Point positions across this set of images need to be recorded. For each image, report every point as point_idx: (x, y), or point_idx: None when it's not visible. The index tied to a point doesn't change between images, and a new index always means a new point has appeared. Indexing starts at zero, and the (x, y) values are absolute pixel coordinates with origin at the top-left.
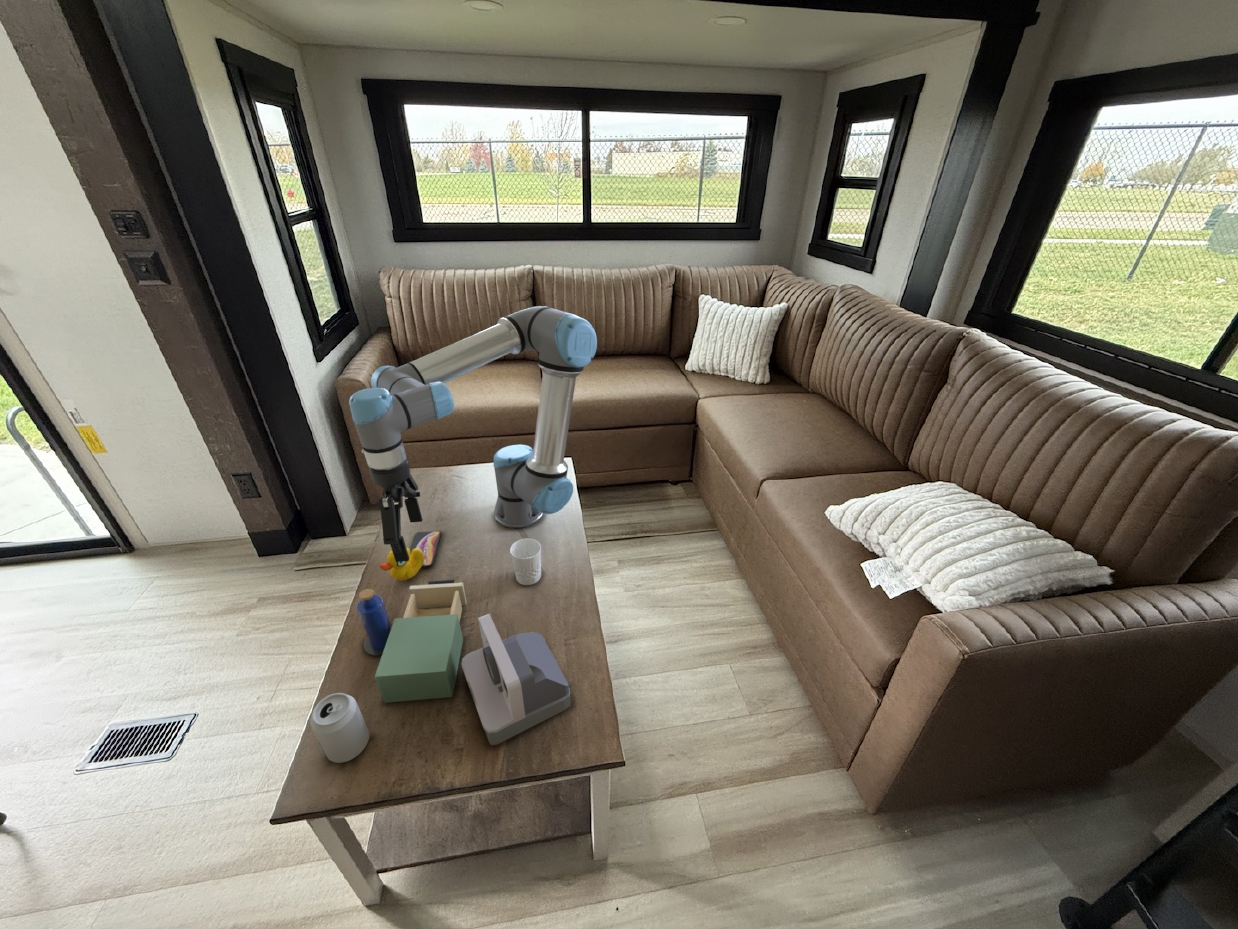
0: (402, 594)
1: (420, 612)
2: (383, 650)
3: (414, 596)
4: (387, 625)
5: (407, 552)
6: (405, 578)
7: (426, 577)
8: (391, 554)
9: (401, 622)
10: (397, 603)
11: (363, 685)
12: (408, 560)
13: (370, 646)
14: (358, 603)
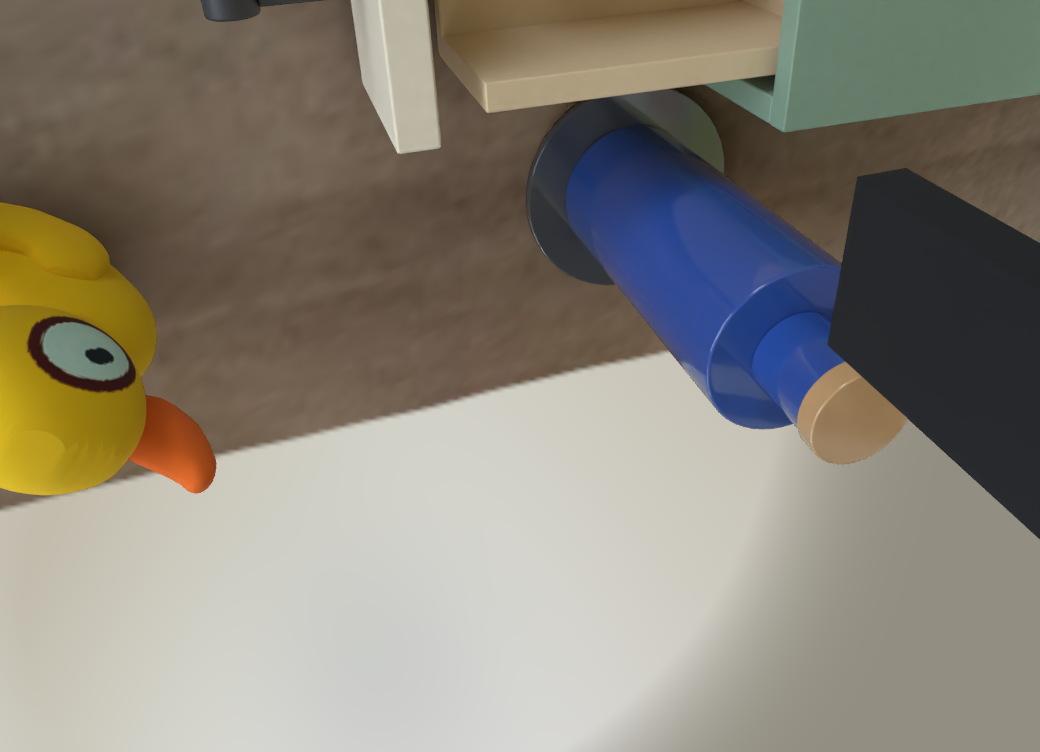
0: (234, 229)
1: (468, 12)
2: (700, 155)
3: (492, 75)
4: (716, 179)
5: (958, 233)
6: (111, 265)
7: (9, 114)
8: (84, 468)
9: (833, 63)
10: (323, 228)
11: (876, 167)
12: (911, 172)
13: None
14: (773, 426)
